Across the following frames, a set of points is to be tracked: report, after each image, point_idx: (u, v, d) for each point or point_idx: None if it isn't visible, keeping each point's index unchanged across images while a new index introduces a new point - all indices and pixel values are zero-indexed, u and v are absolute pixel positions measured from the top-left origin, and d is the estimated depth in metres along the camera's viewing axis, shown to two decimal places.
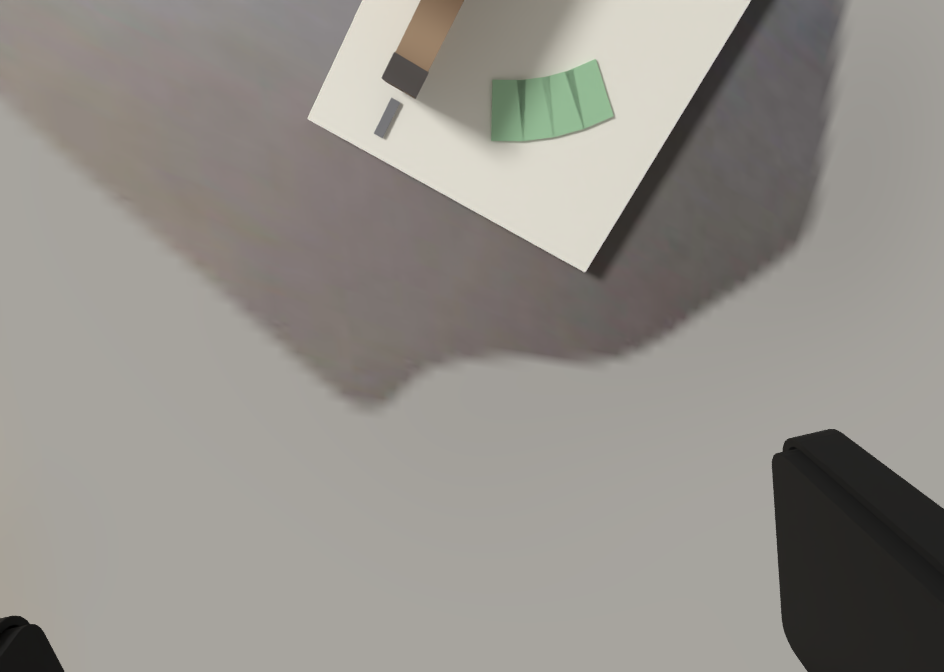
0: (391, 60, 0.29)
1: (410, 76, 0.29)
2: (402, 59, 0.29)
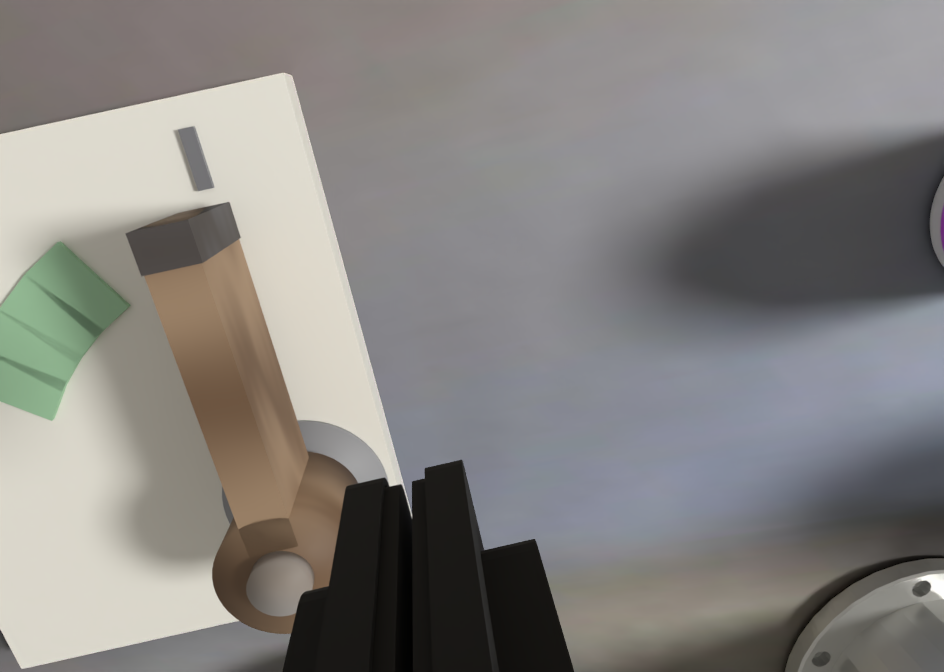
0: (195, 250, 0.18)
1: (157, 251, 0.18)
2: (185, 263, 0.18)
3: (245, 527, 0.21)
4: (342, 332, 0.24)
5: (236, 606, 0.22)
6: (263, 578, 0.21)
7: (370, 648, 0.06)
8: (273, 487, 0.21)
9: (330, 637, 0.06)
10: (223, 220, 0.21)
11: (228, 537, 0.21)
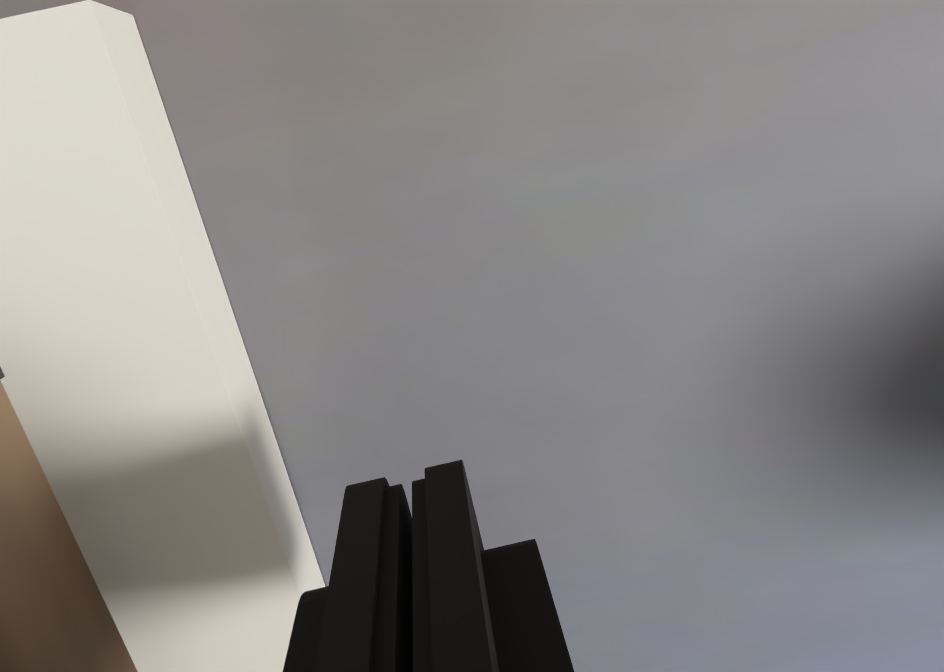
0: None
1: None
2: None
3: None
4: (254, 541, 0.12)
5: None
6: None
7: (370, 648, 0.06)
8: None
9: (330, 637, 0.06)
10: None
11: None
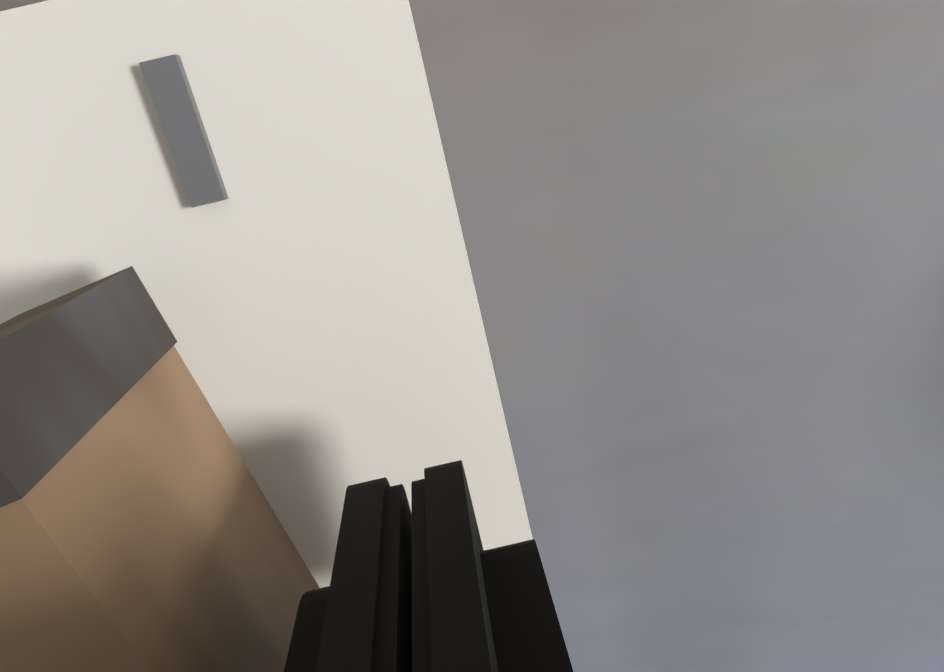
0: None
1: None
2: None
3: None
4: (494, 487, 0.12)
5: None
6: None
7: (371, 648, 0.06)
8: None
9: (331, 637, 0.06)
10: (113, 321, 0.08)
11: None
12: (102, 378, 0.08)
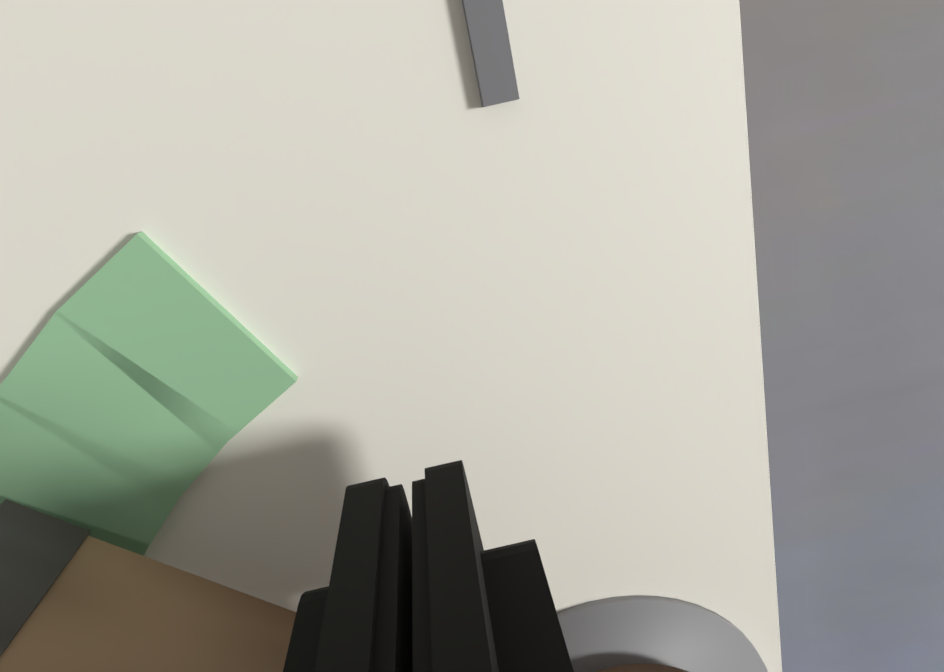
0: None
1: None
2: None
3: None
4: (740, 422, 0.11)
5: None
6: None
7: (371, 648, 0.06)
8: None
9: (330, 637, 0.06)
10: None
11: None
12: None
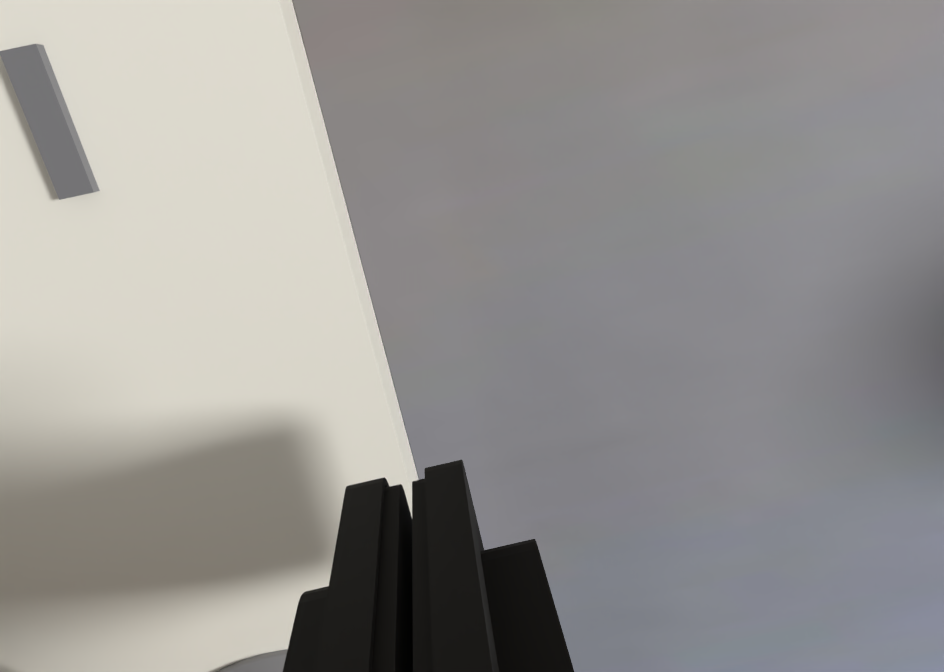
0: None
1: None
2: None
3: None
4: None
5: None
6: None
7: (370, 648, 0.06)
8: None
9: (330, 637, 0.06)
10: None
11: None
12: None
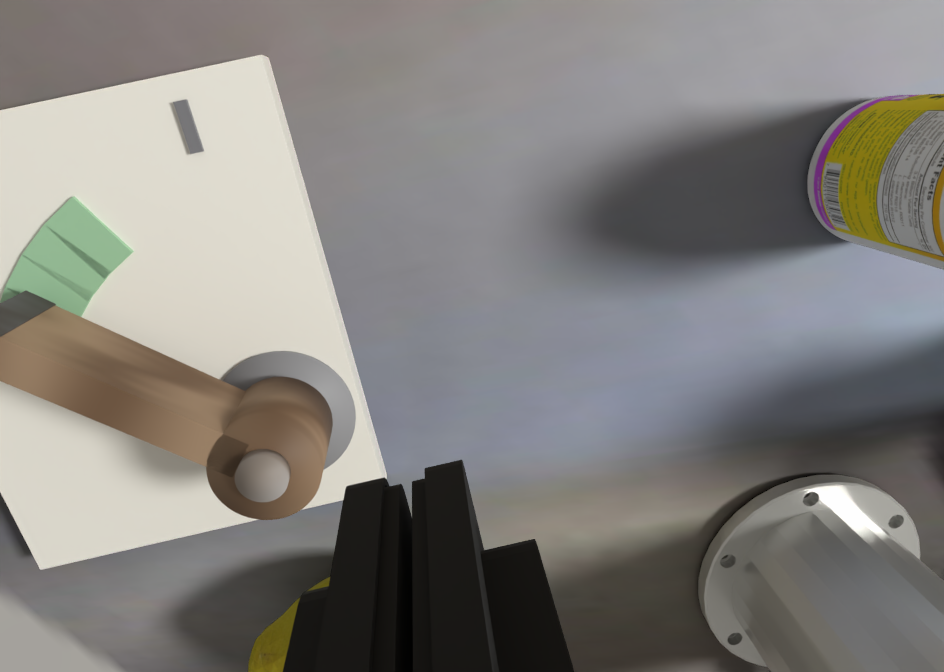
0: None
1: None
2: None
3: (208, 462, 0.26)
4: (313, 275, 0.29)
5: (262, 512, 0.27)
6: (244, 481, 0.26)
7: (370, 648, 0.06)
8: (192, 423, 0.25)
9: (330, 637, 0.06)
10: (22, 303, 0.26)
11: (208, 476, 0.26)
12: (20, 315, 0.25)
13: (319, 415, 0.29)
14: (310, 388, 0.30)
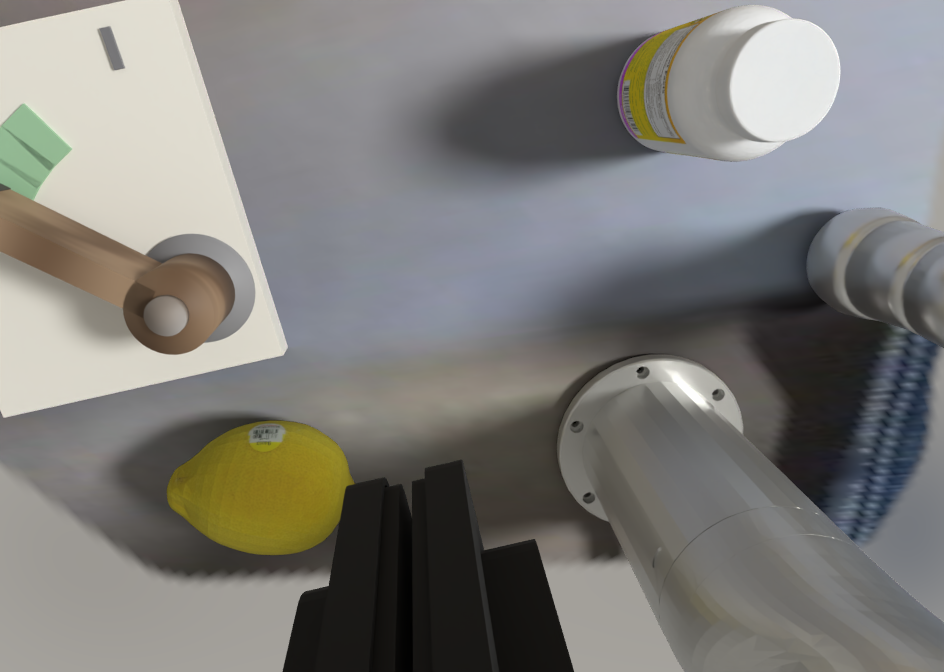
0: None
1: None
2: None
3: (124, 304, 0.34)
4: (215, 170, 0.37)
5: (168, 348, 0.35)
6: (151, 318, 0.33)
7: (370, 648, 0.06)
8: (111, 272, 0.33)
9: (330, 637, 0.06)
10: None
11: (125, 317, 0.34)
12: None
13: (218, 279, 0.36)
14: (214, 262, 0.37)
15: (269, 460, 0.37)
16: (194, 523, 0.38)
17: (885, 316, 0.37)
